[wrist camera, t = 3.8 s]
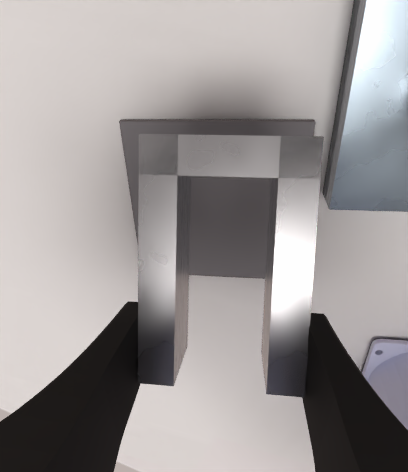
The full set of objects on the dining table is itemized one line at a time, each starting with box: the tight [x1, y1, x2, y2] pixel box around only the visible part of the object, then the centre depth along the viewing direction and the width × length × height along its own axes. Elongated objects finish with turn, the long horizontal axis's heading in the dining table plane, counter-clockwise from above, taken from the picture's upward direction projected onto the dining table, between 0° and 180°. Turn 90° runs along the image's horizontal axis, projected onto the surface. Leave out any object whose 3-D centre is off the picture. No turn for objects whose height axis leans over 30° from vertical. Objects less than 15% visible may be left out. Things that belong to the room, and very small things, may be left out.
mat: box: [119, 120, 315, 279], centre depth 21 cm, size 10×10×1 cm
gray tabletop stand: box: [138, 134, 323, 397], centre depth 13 cm, size 8×5×3 cm
